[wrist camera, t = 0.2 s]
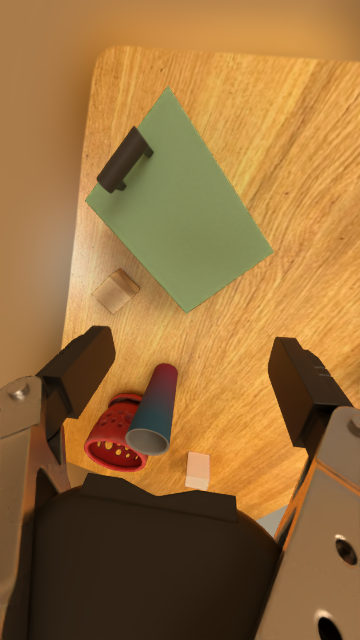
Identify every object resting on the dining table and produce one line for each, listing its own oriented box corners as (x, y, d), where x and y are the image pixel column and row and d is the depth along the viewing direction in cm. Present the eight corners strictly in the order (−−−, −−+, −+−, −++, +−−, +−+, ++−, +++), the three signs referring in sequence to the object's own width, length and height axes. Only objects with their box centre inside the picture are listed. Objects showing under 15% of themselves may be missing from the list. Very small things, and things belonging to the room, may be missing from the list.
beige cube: (207, 465, 59) (206, 490, 54) (187, 461, 59) (184, 486, 54) (209, 454, 56) (209, 480, 51) (188, 451, 56) (186, 475, 51)
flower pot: (98, 395, 50) (69, 444, 39) (141, 383, 46) (121, 434, 35) (127, 426, 55) (107, 477, 44) (168, 418, 50) (157, 472, 40)
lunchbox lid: (88, 200, 22) (58, 198, 18) (169, 89, 17) (155, 49, 13) (186, 311, 27) (182, 330, 23) (272, 250, 22) (287, 260, 18)
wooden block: (104, 284, 35) (91, 294, 31) (120, 268, 33) (108, 276, 29) (123, 303, 36) (112, 314, 32) (139, 288, 34) (130, 299, 30)
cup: (153, 356, 41) (127, 423, 28) (185, 365, 41) (173, 436, 28) (148, 378, 45) (123, 448, 32) (177, 387, 45) (164, 460, 32)
